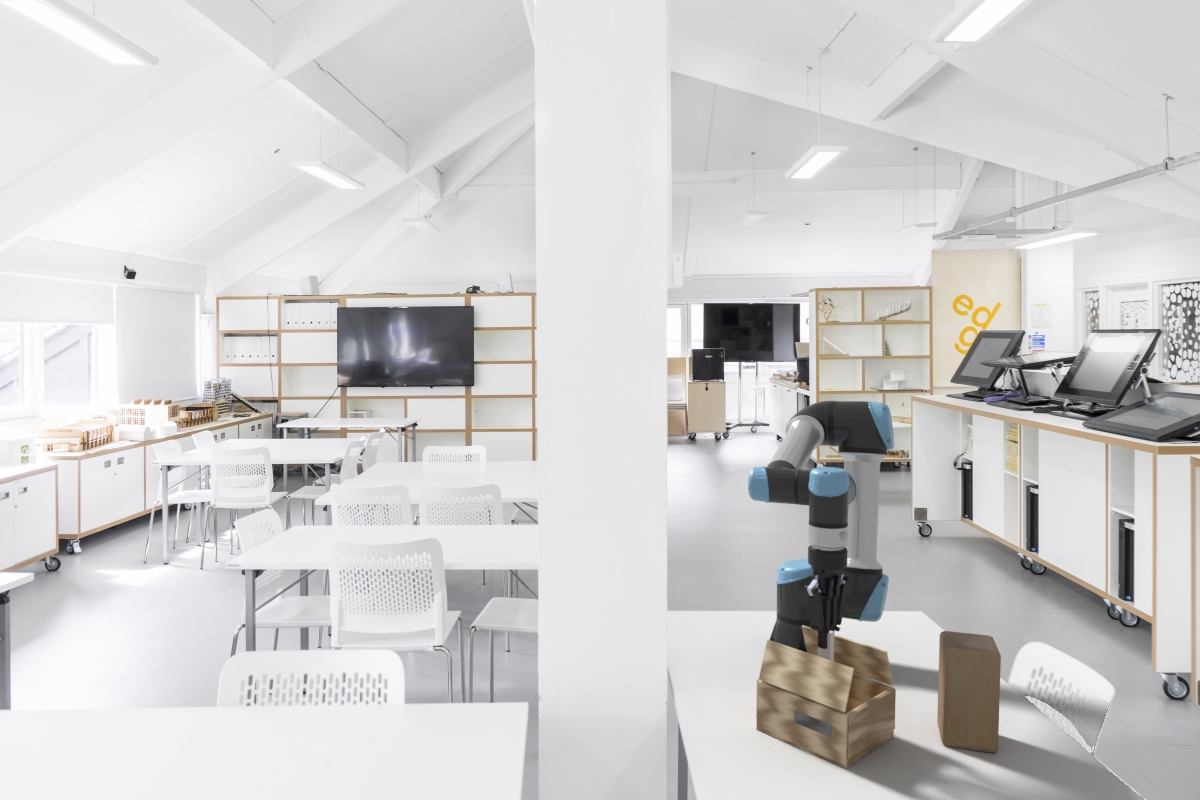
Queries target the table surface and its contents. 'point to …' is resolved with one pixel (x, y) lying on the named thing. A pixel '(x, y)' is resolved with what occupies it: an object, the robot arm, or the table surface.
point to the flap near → (807, 675)
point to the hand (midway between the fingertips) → (825, 662)
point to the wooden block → (969, 691)
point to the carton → (829, 720)
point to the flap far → (854, 656)
